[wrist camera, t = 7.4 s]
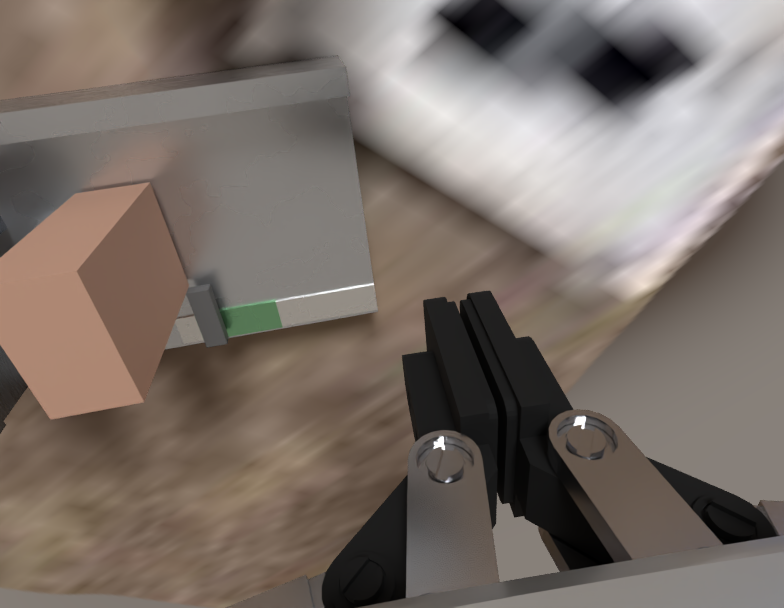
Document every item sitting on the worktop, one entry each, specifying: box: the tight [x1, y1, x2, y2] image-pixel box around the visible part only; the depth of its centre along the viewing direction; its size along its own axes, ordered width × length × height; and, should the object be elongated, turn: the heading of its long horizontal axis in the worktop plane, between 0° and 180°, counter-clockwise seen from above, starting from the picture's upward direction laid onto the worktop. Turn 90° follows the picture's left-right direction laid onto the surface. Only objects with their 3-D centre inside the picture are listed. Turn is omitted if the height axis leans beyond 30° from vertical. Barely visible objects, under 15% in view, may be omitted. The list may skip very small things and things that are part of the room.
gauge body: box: [0, 55, 378, 433], centre depth 20 cm, size 18×12×10 cm, turn 96°
